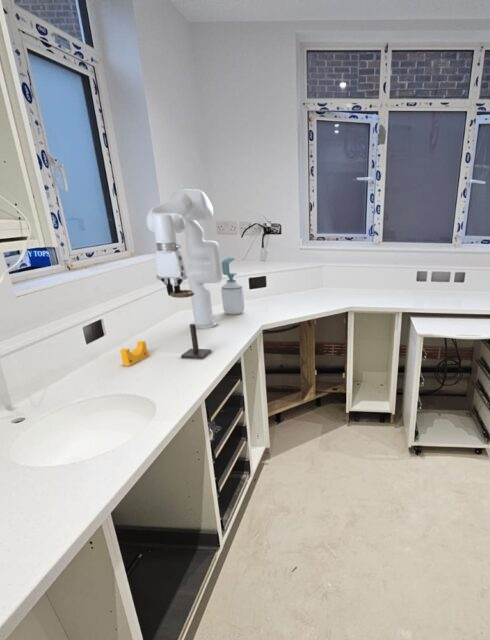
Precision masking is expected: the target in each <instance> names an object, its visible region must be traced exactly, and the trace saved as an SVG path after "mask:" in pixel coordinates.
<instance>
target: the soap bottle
mask: <svg viewBox="0 0 490 640" xmlns="http://www.w3.org/2000/svg"><path fill="white" fill-rule="evenodd" d="M233 261H235V258H234V257H227V258H225V259H224V260H222V261H221V263H222V275H224V276H227V278H228V279H227V280H226V283H225V284H223V285H222V286H221V289H220V294H221V301H222V310H223V311H224V313H225V314H227V315H229V316H231V315H232V316H234V315H235V316H236V315H240V314H241V315H242V313H243V312H244V311H245V297H244V295H245V294H244V288H243V286H242V285H241V284H239V283H238V282H237V279H234V277H235V276H236V275H237V273H235V272H230V263H231V262H233Z"/></svg>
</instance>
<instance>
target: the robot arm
mask: <svg viewBox="0 0 490 640" xmlns="http://www.w3.org/2000/svg"><path fill="white" fill-rule="evenodd" d="M213 218H214V208H213V205H212V203H211V201H210V199H209V197H208V196H207V194H206V193H205V192H204V191H202V190H201V189H190V188H189V189H187V188H186V189H184V188H181V189H177V190H175V191H174V192H173V194H172V196H170V199H169V200H167V201H164V202H161V203H159V204H157V205H154V206H153V207H151V208H150V210H149V211H148V213H147V214H146V218H145V220H146V221H145V223H146V227H147V229H148V230H149V231H150V232H152V233H154V239H155V244H156V250H157V251H156V252H155V267H156V273H157V274H156V279H157V280H159V281H161V282H162V283H163V284H164V285H165V286H166V292H167V295H168V296H170V297H171V295H170V292H172V291H175V293H181V290H182V289H181V286H180V285H181V284H182V283H183V282H184V281H186V280H187V283H188V286H189V290H192V291H193V292H194V295H193V296H191V297H190V300H191V307H192V313H193V315H192V316H193V322H192V323H191V324H195V326H196V328H214V327H216V326H217V325H218V322H217V321H215V320H214V318H215V317H216V316H215V314H214V313H213V305H212V299H211V298H212V297H211V291H210V289H209V288H208V286H207V285H206V284H219V283H220V282H222V281H223V271H222V251H221V248H220V245H219V243H218V242H217V241H216V240H205V235H204V228H203V227H202V226H201V225H200V223H199V222H198V221H211V220H212V219H213ZM182 232H184V233H185V244H186V253H187V257H188V259H189V260H191V261H198V263H195V262H194V263H190V264H188V265H187V266H185V261H184V259H183V255H182V252H181V251H180V249H181V245H180V244H178V239H177V234H180V233H182ZM201 261H202V262H203V261H204V262H211V263H204V262H203V263H201ZM199 262H200V263H199ZM172 279H173V281H174V284H172V281H171V280H172Z"/></svg>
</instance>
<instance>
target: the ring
mask: <svg viewBox="0 0 490 640" xmlns="http://www.w3.org/2000/svg"><path fill="white" fill-rule="evenodd" d="M180 290H181V293H175V291H174V290H173V291H172V292H170V297H171V298H177V299H182V298H191V296H193V295H194V292H193V291H192V290H190V289H180Z"/></svg>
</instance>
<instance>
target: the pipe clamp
mask: <svg viewBox="0 0 490 640" xmlns="http://www.w3.org/2000/svg"><path fill="white" fill-rule="evenodd" d="M119 353H120V358H121V362H122V366H123V367H131V366H132V365H135V364H137V363H138V362H140V361H142V360H144V359H146V358H148V357H149V353H148V347H147V342H146V341H145V340H139V341H137V342H136V348H135V349H133V350H130V348H121V349H119Z"/></svg>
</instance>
